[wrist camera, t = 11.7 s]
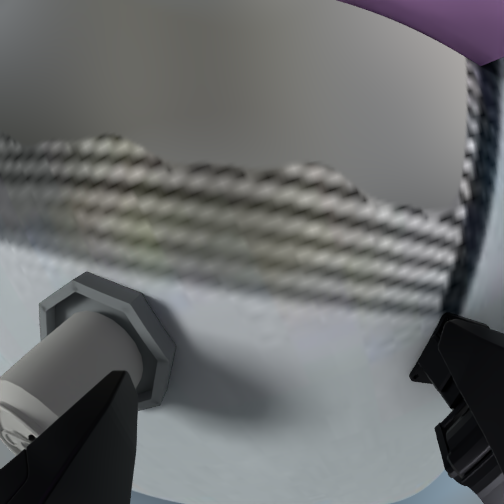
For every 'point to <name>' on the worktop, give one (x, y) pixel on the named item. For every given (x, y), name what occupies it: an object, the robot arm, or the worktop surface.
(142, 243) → the worktop surface
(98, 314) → the can
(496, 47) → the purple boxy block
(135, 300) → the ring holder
